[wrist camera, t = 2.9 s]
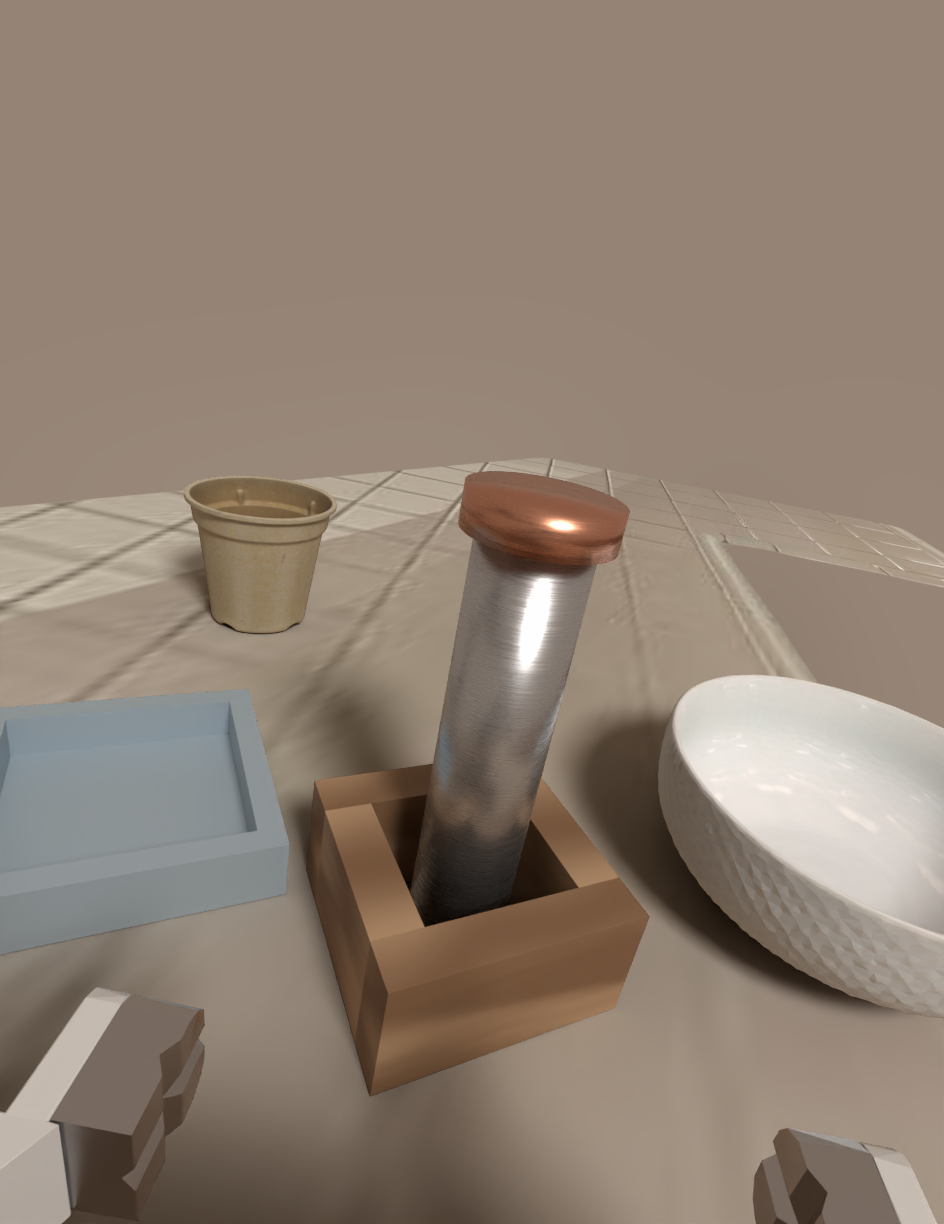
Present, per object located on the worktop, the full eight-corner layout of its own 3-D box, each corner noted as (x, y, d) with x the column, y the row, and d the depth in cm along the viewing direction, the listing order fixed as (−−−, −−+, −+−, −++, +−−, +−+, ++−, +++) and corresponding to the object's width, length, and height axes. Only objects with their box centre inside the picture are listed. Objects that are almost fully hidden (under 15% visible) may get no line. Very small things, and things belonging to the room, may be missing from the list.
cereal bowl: (645, 744, 40) (679, 640, 37) (949, 842, 36) (1014, 734, 33) (607, 978, 25) (661, 832, 22) (1125, 1189, 21) (1270, 1045, 18)
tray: (-12, 756, 30) (-19, 709, 29) (246, 730, 34) (248, 688, 33) (-74, 970, 21) (-88, 912, 20) (285, 894, 26) (289, 844, 25)
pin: (374, 900, 26) (439, 466, 19) (479, 876, 28) (572, 476, 21) (414, 1006, 22) (512, 517, 16) (531, 970, 24) (664, 523, 18)
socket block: (306, 869, 27) (314, 780, 25) (501, 830, 31) (520, 751, 29) (370, 1096, 20) (388, 993, 18) (614, 1007, 24) (649, 916, 22)
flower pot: (222, 659, 40) (225, 524, 37) (161, 599, 46) (159, 477, 43) (352, 630, 47) (365, 512, 43) (284, 581, 52) (291, 473, 49)
